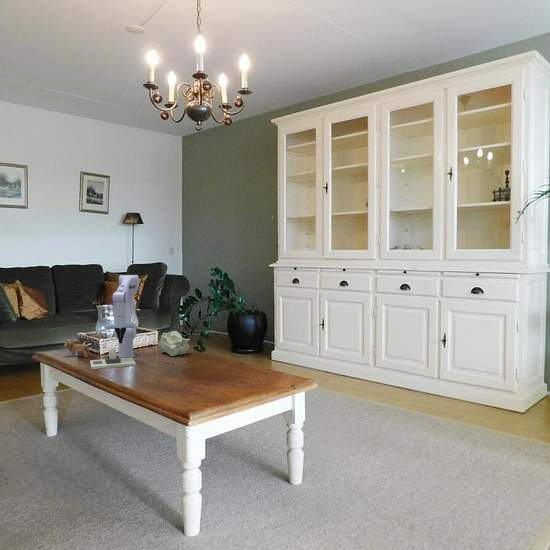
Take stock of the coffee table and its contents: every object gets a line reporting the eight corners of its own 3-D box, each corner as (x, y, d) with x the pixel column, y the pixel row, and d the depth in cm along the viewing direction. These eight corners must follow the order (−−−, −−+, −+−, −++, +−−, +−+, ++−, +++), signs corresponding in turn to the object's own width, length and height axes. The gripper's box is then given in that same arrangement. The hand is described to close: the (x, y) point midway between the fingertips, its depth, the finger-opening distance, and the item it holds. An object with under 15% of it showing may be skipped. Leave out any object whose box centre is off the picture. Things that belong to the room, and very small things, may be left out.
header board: (90, 362, 240) (90, 356, 240) (132, 359, 248) (132, 353, 247) (91, 369, 226) (91, 362, 226) (135, 365, 234) (135, 359, 234)
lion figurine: (62, 357, 253) (62, 340, 252) (67, 355, 258) (66, 338, 258) (90, 357, 252) (90, 340, 252) (94, 355, 258) (94, 338, 257)
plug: (109, 360, 239) (108, 348, 238) (115, 360, 240) (115, 347, 240) (109, 363, 234) (109, 350, 234) (116, 362, 235) (116, 349, 235)
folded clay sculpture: (183, 366, 262) (195, 342, 260) (163, 364, 253) (176, 338, 251) (168, 349, 274) (180, 325, 272) (149, 345, 265) (161, 321, 263)
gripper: (105, 317, 235) (105, 345, 235) (136, 316, 240) (136, 343, 241) (104, 315, 241) (104, 343, 242) (134, 314, 247) (134, 341, 247)
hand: (120, 343), depth 242 cm, fingers closed
